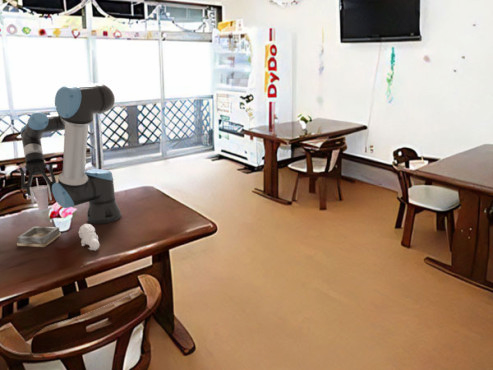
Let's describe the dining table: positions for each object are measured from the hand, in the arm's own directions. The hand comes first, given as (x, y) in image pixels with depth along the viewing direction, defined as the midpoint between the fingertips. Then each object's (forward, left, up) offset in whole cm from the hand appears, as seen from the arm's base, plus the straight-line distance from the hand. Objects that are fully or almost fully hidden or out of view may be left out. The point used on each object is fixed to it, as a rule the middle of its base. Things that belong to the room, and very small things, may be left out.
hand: (41, 200), depth 181 cm
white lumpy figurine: (-28, +14, -14) cm, 35 cm away
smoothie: (+2, -3, -5) cm, 6 cm away
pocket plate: (-3, +10, -14) cm, 18 cm away
